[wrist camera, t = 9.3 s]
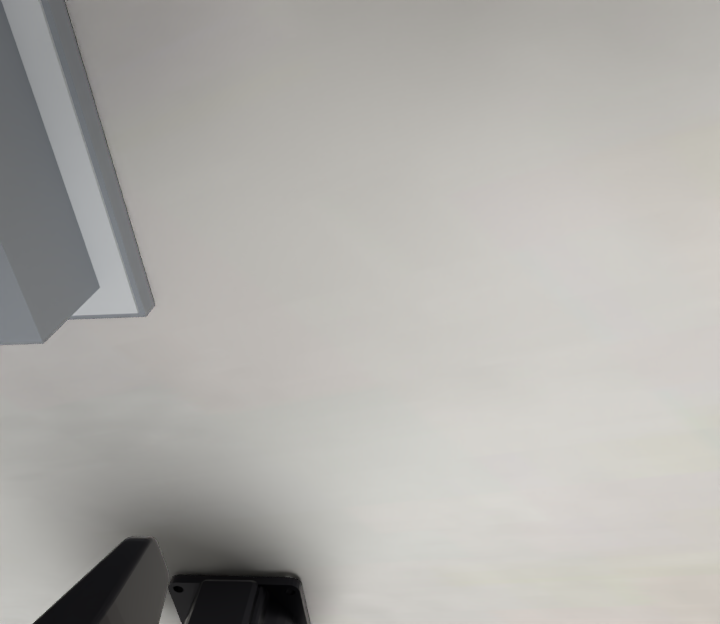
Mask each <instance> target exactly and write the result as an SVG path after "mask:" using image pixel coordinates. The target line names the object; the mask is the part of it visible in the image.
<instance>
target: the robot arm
mask: <svg viewBox="0 0 720 624" xmlns="http://www.w3.org/2000/svg"><path fill="white" fill-rule="evenodd" d="M168 583H169V572H168V568H167V565H166V563H165V560H164V557H163V555H162V552H161V549H160V547H159V544H158V542H157V540H156V539H155V538H154V537H151V536H132V537H128V538H127V539H125V540H124V541H122V542H121V543H120V544H119V545H118V546H117V547H116V548H115V549H114V550H113V551H111V552H110V553H109V554H108V555H107V556H106V557H105V558H104V559H103V560H102V561H101V562H99V563H98V564H97V565H96V566H95V567H94V568H93V569H92V570H91V571H90V572H89V573H87V574H86V575H85V576H84V577H83V578H82V579H81V580H80V581H79V582H78V583H76V584H75V585H74V586H73V587H72V588H71V589H70V590H69V591H68V592H67V593H66V594H64V595H63V596H62V597H61V598H60V599H59V600H58V601H57V602H56V603H55V604H54V605H52V606H51V607H50V608H49V609H48V610H47V611H46V612H45V613H44V614H43V615H41V616H40V617H39V618H38V619H37V620H36V621H35V622H34V623H33V624H159V621H160V617H161V613H162V609H163V604H164V600H165V596H166V592H167V588H169V592H170V594H171V597H172V599H173V602H174V604H175V607H176V609H177V612H178V615H179V617H180V620H181V622H182V624H310V621H309V616H308V611H307V607H306V602H305V598H304V593H303V588H302V584H301V582H300V581H299V580H298V579H295V578H291V577H243V576H190V575H177V576H174V577H172V579H171V581H170V584H169V586H168Z"/></svg>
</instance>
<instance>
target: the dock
mask: <svg viewBox="0 0 720 624" xmlns="http://www.w3.org/2000/svg"><path fill="white" fill-rule="evenodd" d="M154 306H155V304H154V300H153V297H152V294H151V290H150V287H149V284H148V280H147V277H146V273H145V270H144V267H143V263H142V260H141V257H140V253H139V250H138V247H137V243H136V240H135V237H134V233H133V230H132V227H131V223H130V220H129V216H128V213H127V210H126V206H125V203H124V200H123V196H122V193H121V190H120V186H119V183H118V180H117V176H116V173H115V170H114V166H113V163H112V160H111V156H110V153H109V149H108V146H107V143H106V139H105V136H104V133H103V129H102V126H101V123H100V119H99V116H98V113H97V109H96V106H95V103H94V99H93V96H92V93H91V89H90V86H89V82H88V79H87V76H86V72H85V69H84V66H83V62H82V59H81V56H80V52H79V49H78V46H77V42H76V39H75V36H74V32H73V29H72V26H71V22H70V19H69V15H68V12H67V9H66V5H65V2H64V0H0V345H12V344H43V343H44V342H45V341H46V340H48V339H49V338H50V337H51V336H52V335H53V334H54V333H55V332H56V331H57V330H58V329H59V328H60V327H61V326H62V325H63V324H64V323H65V322H66V321H67V320H68V319H95V318H122V317H146V316H147V315H148V314H149V312H150V311H151V310H152V309H153V307H154Z"/></svg>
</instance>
